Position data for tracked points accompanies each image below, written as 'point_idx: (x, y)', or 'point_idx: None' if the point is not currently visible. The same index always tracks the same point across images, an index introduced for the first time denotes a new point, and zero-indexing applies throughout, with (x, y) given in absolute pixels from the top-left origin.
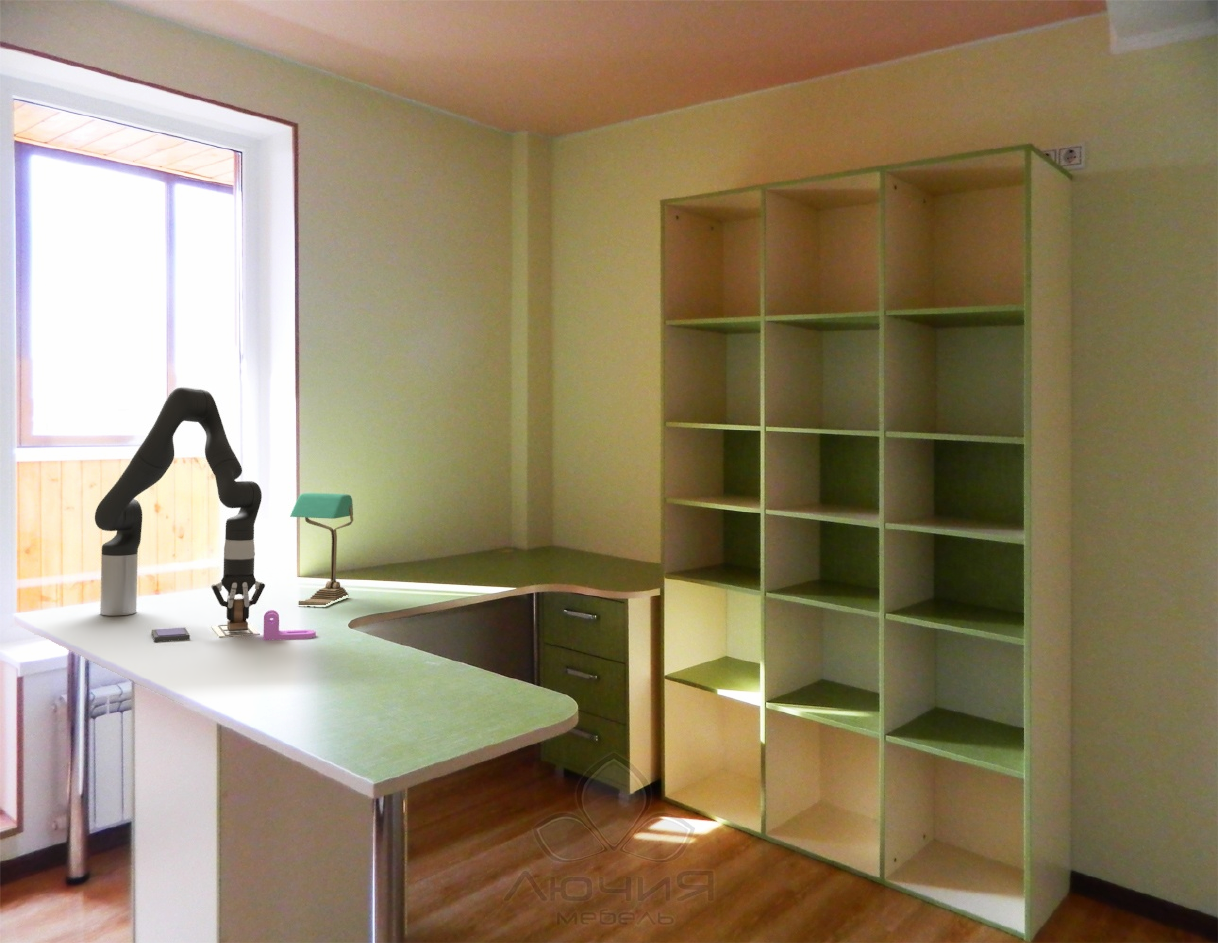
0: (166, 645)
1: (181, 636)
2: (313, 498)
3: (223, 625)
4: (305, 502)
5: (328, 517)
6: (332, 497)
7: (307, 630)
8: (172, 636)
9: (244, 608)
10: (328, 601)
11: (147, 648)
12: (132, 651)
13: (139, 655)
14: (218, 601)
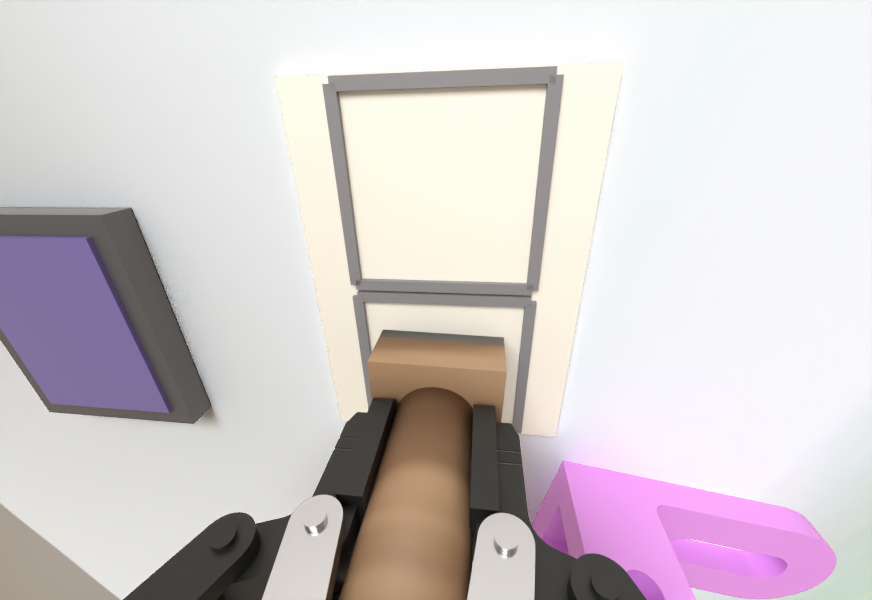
0: (148, 463)
1: (162, 417)
2: None
3: (371, 89)
4: None
5: None
6: None
7: (804, 549)
8: (122, 414)
9: (474, 552)
10: None
11: (98, 477)
12: (68, 494)
13: (115, 540)
14: (183, 567)
